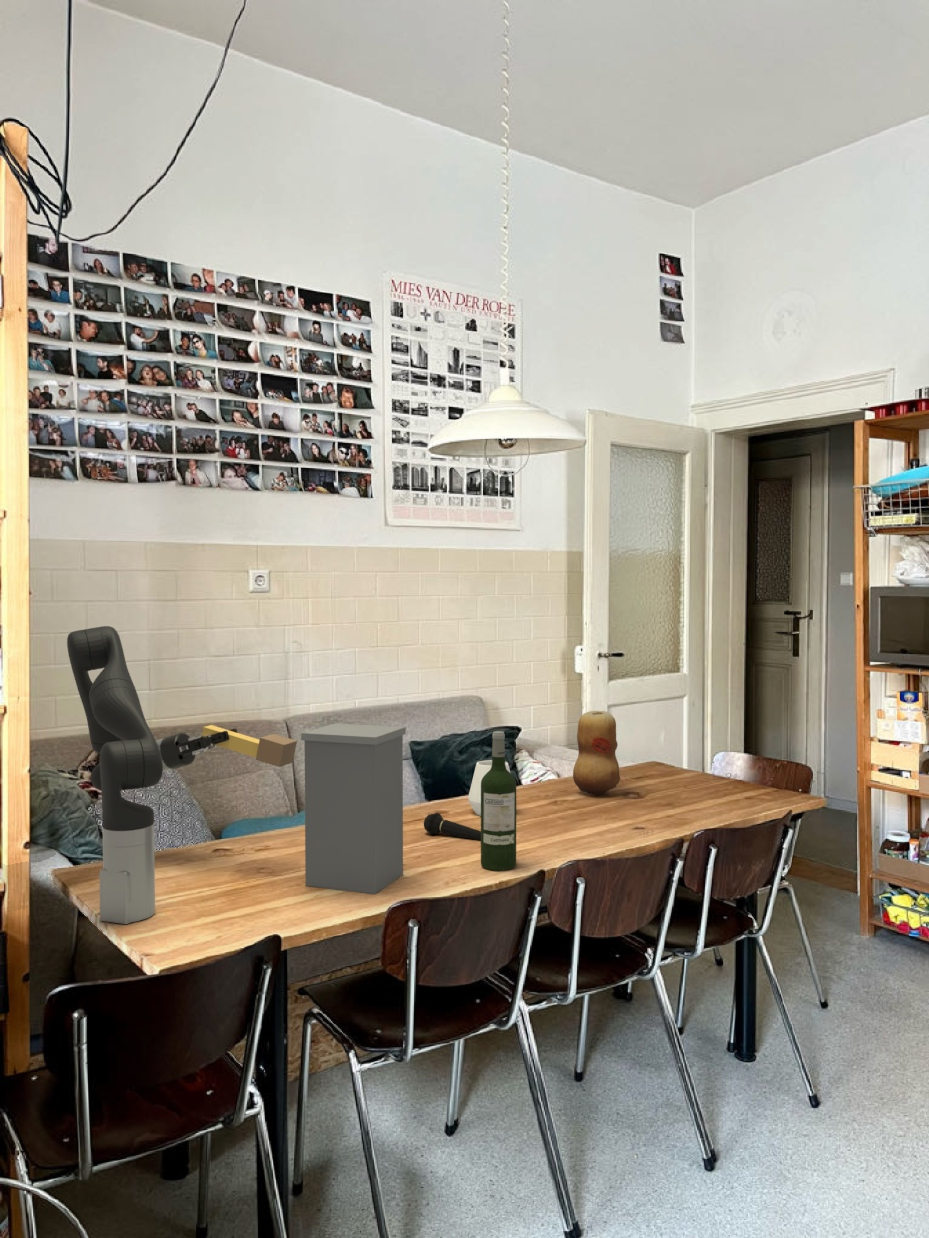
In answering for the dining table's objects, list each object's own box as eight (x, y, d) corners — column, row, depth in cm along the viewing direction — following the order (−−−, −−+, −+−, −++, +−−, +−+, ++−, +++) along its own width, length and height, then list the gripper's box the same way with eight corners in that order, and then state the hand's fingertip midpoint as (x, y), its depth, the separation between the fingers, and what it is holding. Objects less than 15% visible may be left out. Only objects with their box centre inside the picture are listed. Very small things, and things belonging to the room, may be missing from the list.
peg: (197, 741, 211) (201, 719, 211) (212, 737, 217) (216, 716, 216) (279, 767, 205) (284, 744, 205) (292, 762, 211) (297, 740, 210)
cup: (461, 817, 256) (461, 765, 256) (475, 806, 269) (475, 757, 269) (510, 820, 253) (510, 768, 252) (521, 809, 265) (521, 759, 265)
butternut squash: (578, 799, 277) (578, 714, 276) (569, 790, 291) (569, 708, 290) (624, 798, 278) (625, 714, 278) (613, 789, 292) (614, 708, 291)
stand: (302, 886, 197) (301, 733, 196) (336, 866, 211) (335, 723, 210) (376, 895, 191) (375, 737, 190) (406, 874, 205) (405, 727, 204)
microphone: (497, 852, 233) (426, 833, 242) (503, 829, 234) (432, 811, 243) (489, 851, 228) (417, 831, 237) (495, 827, 229) (423, 809, 238)
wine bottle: (486, 872, 206) (486, 735, 205) (476, 862, 214) (476, 730, 213) (521, 869, 208) (521, 733, 207) (509, 859, 216) (509, 728, 215)
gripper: (145, 742, 210) (210, 721, 205) (182, 733, 224) (244, 714, 219) (154, 774, 210) (219, 755, 205) (191, 764, 223) (253, 745, 218)
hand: (232, 734), depth 212 cm, fingers closed on peg, 3 cm apart
